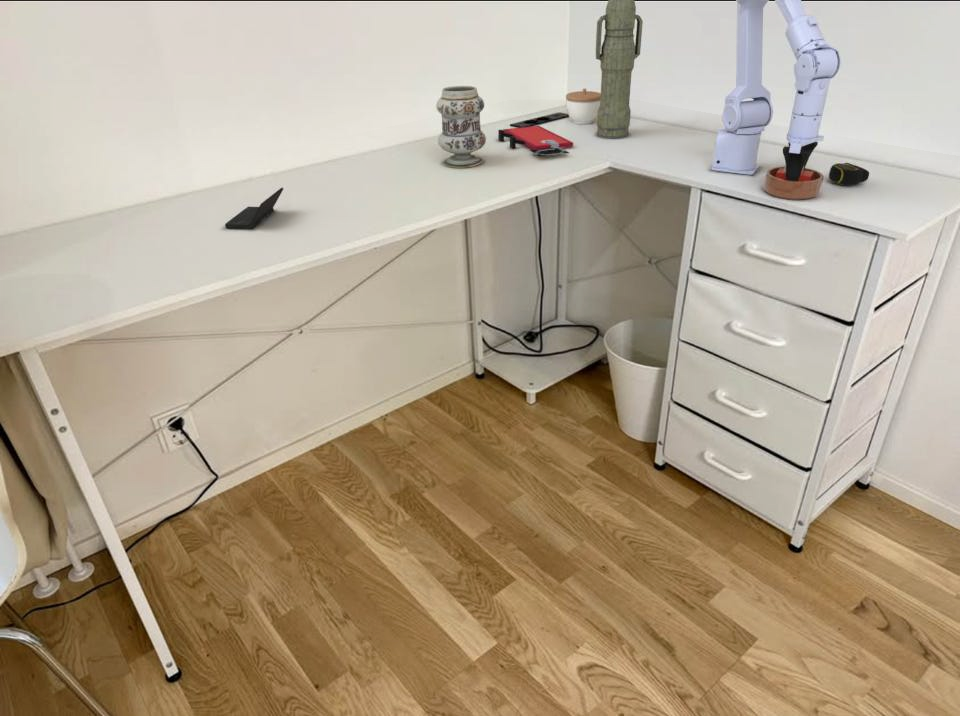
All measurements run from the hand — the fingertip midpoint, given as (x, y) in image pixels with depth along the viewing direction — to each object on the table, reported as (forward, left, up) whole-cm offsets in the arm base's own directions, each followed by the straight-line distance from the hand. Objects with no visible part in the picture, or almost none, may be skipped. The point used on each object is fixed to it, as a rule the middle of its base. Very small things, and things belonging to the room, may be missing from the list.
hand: (793, 179), depth 149 cm
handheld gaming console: (-94, -65, -3) cm, 114 cm away
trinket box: (-67, +41, -3) cm, 79 cm away
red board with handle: (-68, +12, -3) cm, 69 cm away
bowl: (0, 0, -3) cm, 3 cm away
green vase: (-53, +30, -3) cm, 61 cm away
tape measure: (+9, +12, -3) cm, 15 cm away
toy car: (0, 0, -1) cm, 1 cm away
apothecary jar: (-77, -11, -3) cm, 78 cm away
